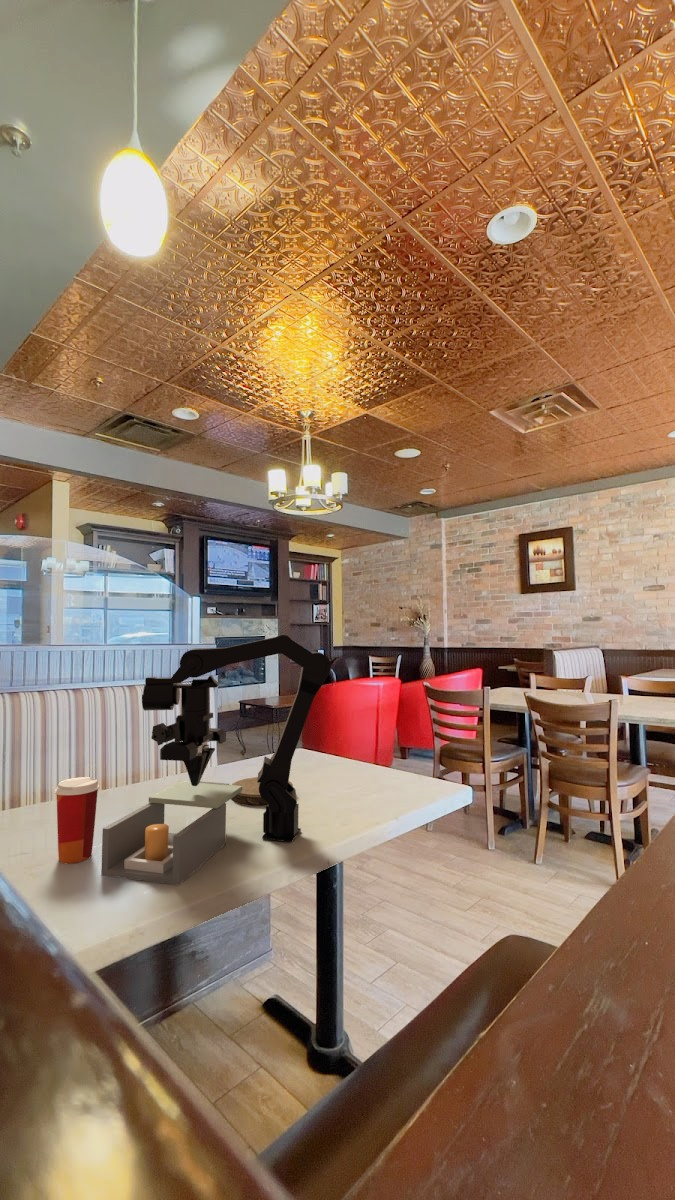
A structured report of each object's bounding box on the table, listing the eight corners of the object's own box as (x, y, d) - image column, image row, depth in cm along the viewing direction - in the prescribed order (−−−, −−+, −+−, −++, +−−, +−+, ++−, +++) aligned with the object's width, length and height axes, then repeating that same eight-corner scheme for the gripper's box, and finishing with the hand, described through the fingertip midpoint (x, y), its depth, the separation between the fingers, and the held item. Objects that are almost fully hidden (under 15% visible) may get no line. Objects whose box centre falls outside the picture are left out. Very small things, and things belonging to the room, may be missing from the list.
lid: (243, 798, 117) (243, 784, 117) (216, 819, 105) (217, 803, 105) (181, 793, 121) (181, 779, 121) (148, 812, 108) (148, 797, 108)
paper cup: (85, 845, 107) (88, 774, 107) (105, 856, 102) (107, 781, 103) (44, 858, 101) (46, 782, 101) (62, 870, 96) (65, 790, 97)
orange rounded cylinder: (172, 858, 99) (173, 825, 99) (159, 867, 95) (160, 832, 95) (152, 856, 100) (153, 822, 100) (139, 865, 96) (140, 830, 96)
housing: (225, 843, 108) (226, 803, 109) (178, 885, 91) (179, 836, 91) (158, 836, 112) (159, 797, 112) (101, 875, 94) (102, 828, 95)
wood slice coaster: (218, 796, 140) (218, 784, 140) (269, 784, 150) (269, 773, 151) (252, 811, 128) (252, 799, 128) (304, 798, 139) (305, 786, 139)
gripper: (180, 702, 123) (180, 772, 122) (135, 715, 104) (134, 797, 104) (227, 703, 121) (226, 774, 120) (188, 717, 102) (188, 800, 101)
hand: (195, 785), depth 111 cm, fingers closed
